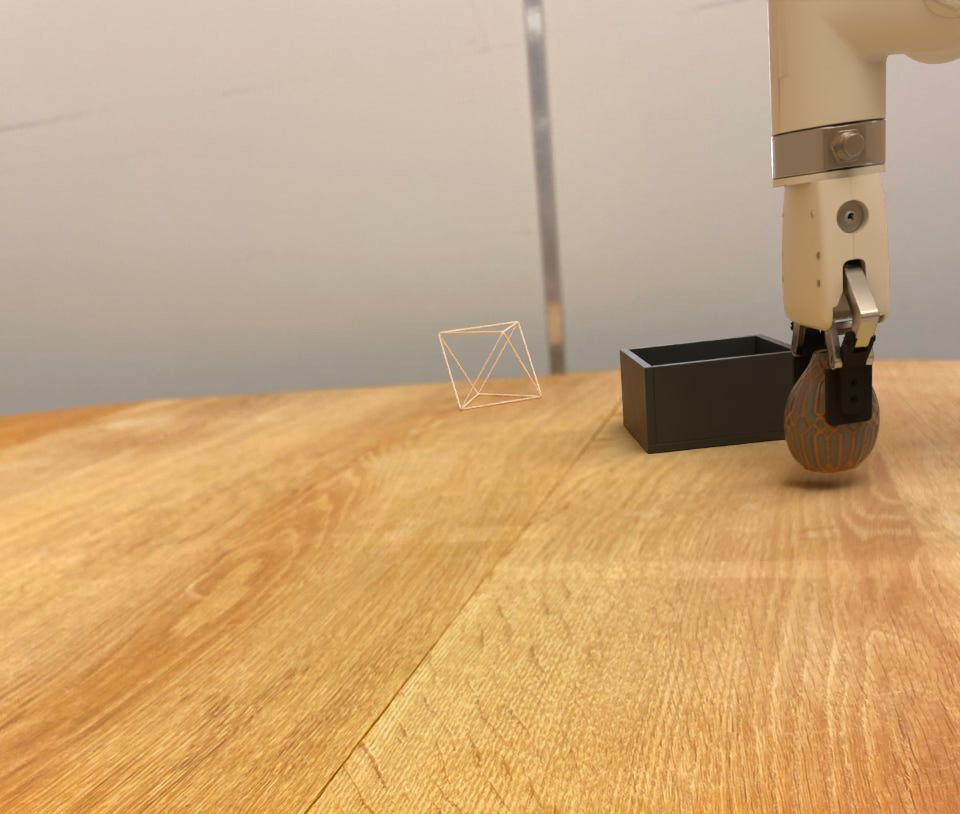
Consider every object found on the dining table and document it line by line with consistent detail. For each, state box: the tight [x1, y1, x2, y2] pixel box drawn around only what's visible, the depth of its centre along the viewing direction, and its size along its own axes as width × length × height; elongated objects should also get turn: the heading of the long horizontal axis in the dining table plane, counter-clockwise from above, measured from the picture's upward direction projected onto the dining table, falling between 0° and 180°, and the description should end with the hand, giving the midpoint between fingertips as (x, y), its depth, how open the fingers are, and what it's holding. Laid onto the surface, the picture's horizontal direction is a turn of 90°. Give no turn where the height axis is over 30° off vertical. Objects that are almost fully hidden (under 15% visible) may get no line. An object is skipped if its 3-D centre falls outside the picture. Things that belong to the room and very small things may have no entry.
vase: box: [784, 349, 881, 474], centre depth 80 cm, size 7×7×9 cm
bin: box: [619, 333, 798, 454], centre depth 103 cm, size 15×15×8 cm
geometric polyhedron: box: [437, 320, 543, 411], centre depth 133 cm, size 12×11×9 cm
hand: (830, 412), depth 80 cm, fingers closed on vase, 6 cm apart
